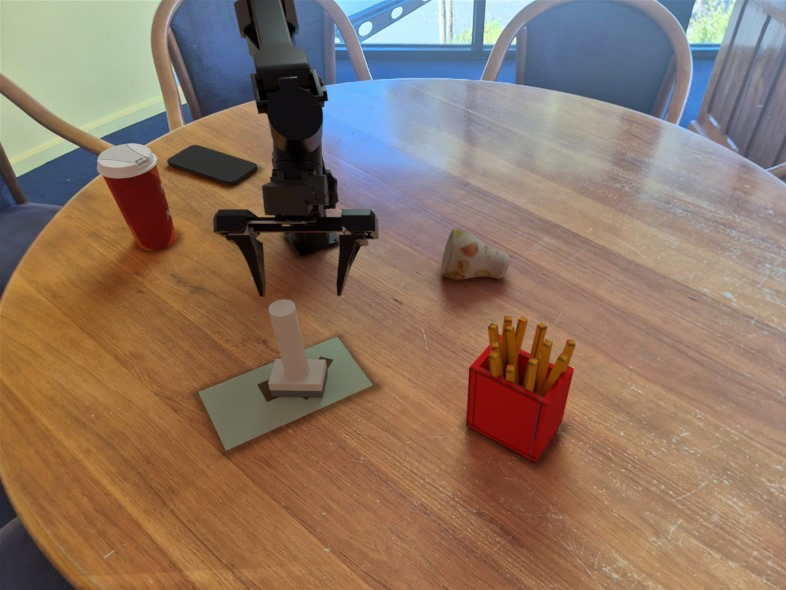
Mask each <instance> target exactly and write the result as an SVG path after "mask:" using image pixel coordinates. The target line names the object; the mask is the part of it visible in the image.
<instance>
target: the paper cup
mask: <svg viewBox="0 0 786 590" xmlns="http://www.w3.org/2000/svg"><path fill="white" fill-rule="evenodd" d="M96 162H97V165H96V171H97V172H98V174H100V175H101V176H102V177H103V179H104V182H105V184H106V185H107V187H108V189H109V192H110V193H111V195H112V197H113V199H114V201H115V203H116V205H117V207H118V209H119V212H120V213H121V215H122V217H123V219H124V221H125V222H126V225H127V226H128V228H129V230H130V232H131V235H132V236H133V238H134V240H135V242H136V243H137V245H138V246H139V248H140V249H142V250H144V251H145V250H146V251H151V252H152V251H160V250H163V249H166V248H168V247H170V246H172V245H173V244H175V242H176V240H177V238H178V237H177V232H176V228H175V224H174V221H173V217H172V214H171V209H170V207H169V203H168V200H167V196H166V193H165V189H164V186H163V182H162V179H161V175H160V172H159V169H158V165H157V163H158V157H157V156H156V154H155V153H153V152H152V150H151V149H150V148H149V147H148V146H147V145H144V144H140V143H134V142H133V143H132V142H131V143H123V144H118V145H117V144H116V145H114V146H111V147H109V148H107V149H105V150H103V151H102V152H100V154H99V155H98V157H97V160H96Z"/></svg>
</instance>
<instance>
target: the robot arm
mask: <svg viewBox="0 0 786 590" xmlns="http://www.w3.org/2000/svg"><path fill="white" fill-rule="evenodd" d="M233 7H234V11H235V16H236V21H237V26H238V30H239V35H240V39H246V44H247V49H248V54H249V55H250V56H251V57H252V60H253V65H254V70H255V73H253V72H252V73H249V75H250V80H251V84H252V85H251V86H252V91H253V96H254V101H255V105H256V110H257V114H258V115H261V114H262V115H263V114H265V115H266V116H267V121H268V125H269V131H270V136H271V139H272V152H271V156H272V158H271V165H272V168H271V176H269V180H270V181H269V182H267V183H264V184H261V192H262V193H261V194H262V202H263V203H262V204H263V211H264V216H258V215H256V214H255V213H254V212H253V211H251V210H249V209H248V208H247V209H246V208H244V209H243V208H241V209H240V208H239V209H238V208H236V209H234V208H232V209H231V208H229V209H228V208H226V209H225V208H224V209H223V208H222V209H221V208H220V209H218V210H216V212H215V213H214V216H213V218H212V226H213V228H212V229H213V233H214V234H216V235H218V236H220V237H222V238H224V239H225V240H226V241H227V242H228V243H230V244H233V245H235V246H236V247H238V249H239V250H240V252H241V254H242V256H243V257H244V260H245V262H246V264H247V266H248V269H249V271H250V274H251V276H252V277H251V278H252V279H253V281H254V282H253V283H254V285H255V287H256V290H257V293H258V296H259V297H261V298H265V297H266V287H267V283H266V268H265V267H266V266H265V255H264V253H265V251H264V243H263V242H262V241H260V240H259V239H257V238H258V237H259V236H260V235H261V234H264V233H265V234H267V233H268V234H269V233H271V234H276V233H277V234H280V233H281V234H282V233H283V235H284V237H285V238H286V240H287V241H288V243H289V244H290V245H291V246H292V248H293V249H294V250H295V252H296V253H297V254H298V255H299V256H304V255H308V254H311V253H314V252H318V251H320V250H323V249H326V248H329V247H333V246H336V245H337V244H338V262H337V274H336V295H337V296H338V297H341V296H342V295H343V292H344V290H345V286H346V283H347V281H348V277H349V274H350V272H351V269H352V266H353V264H354V261H355V259H356V258H357V256H358V253H359V251H360V249H361V247H368V246H369V240H379V239H380V236H379V235H380V234H379V231H380V230H379V227H380V226H379V219H378V217H377V214H376V213H375V212H374V211H373V210H372V209H371V208H342V209H341V214H340V216H328V214H327V213H328V212H327V210H331V209H332V210H336V209H337V205H338V203H339V194H338V179H337V178H336V177H335V176H334V174H333V173H332V171H331V169H330V168H329V169H328V168H327V169H326V164H325V161H324V158H323V157H324V156H323V143H322V142H323V141H322V140H323V139H322V138H323V128H324V109H323V108H325V102H329V96H328V91H327V87H326V85H325V82H324V80H323V77H321V75H319V73H318V71H317V70H316V67H311V65H310V62H309V59H308V56H307V53H306V52H305V51H304V50H303V49H300V48H299V47H297V45H296V44H297V43H296V35H299V32H300V31H299V30H300V27H299V26H300V25H299V21H298V15H297V10H296V5H295V0H236V1H235V2H234V3H233ZM334 233H342V234H338V237H337V236H336V235H335V234H334Z"/></svg>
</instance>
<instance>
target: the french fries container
mask: <svg viewBox="0 0 786 590" xmlns="http://www.w3.org/2000/svg"><path fill="white" fill-rule="evenodd" d="M528 321H529V319H528V318H526V317H524V316H520V317H518V319H517V323H516V328H515V326H514V325H513V316H512V315H503V323H502V330H501V334H500V333H499V324H497V323H494V322H491V323H490V324H489V325H488V326H487V333H488V341H489V342H488V343H489V344H488V346H486V348H485V349H484V350H483V351H482V352H481V353H480V354H479V356H478V357H477V358H476V359H475V360H474V361H473V362H472V363H471V364H470V366H469V367H468V383H467V401H466V403H467V404H466V421H465V422H466V423H465V426H466V427H467V428H468V429H471V430H473V431H475V432H476V433H477V434H480V435H482V436H484V437H486V438H488V439H489V440H492V441H493V442H495V443H498V444H499V445H501V446H502V447H505V448H506V449H508V450H510V451H512V452H514V453H515V454H518V455H520V456H522V457H524V458H525V459H527V460H529V461H531V462H533V463H535V464H537V463H538V461H539V460H540V458H541V457H542V455H544V454H543V453H544V452H545V451H546V449H547V448H548V446H549V445H550V444H551V442H552V440H553V439H554V437H555V436H556V434H557V433H558V431H559V427H560V426H561V425H562V423H563V419H564V415H565V411H566V406H567V401H568V396H569V392H570V388H571V383H572V379H573V375H574V371H575V368H574V367H573V366H571V365H569V364H570V362H571V359H572V357H573V354H574V351H575V349H576V345H577V343H576V341H575V339H570V338H569V339H568V338H567V339H566V341H565V343H564V344H565V345H564V347H563V350H562V352H560V354H559V355H558V357H557V358H556V360H555V362H554V363H551V362H550V360H551V355H552V348H553V341H552V340H549V339H547V338H546V335H547V331H548V325H546V324H545V323H543V322H541V323H538V324H536V326H535V327H536V328H535V332H534V337H533V341H532V345H531V349H530V352H528V351H526V350H524V349H522V346H523V342H524V338H525V333H526V330H527V326H528ZM545 338H546V339H545Z"/></svg>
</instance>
